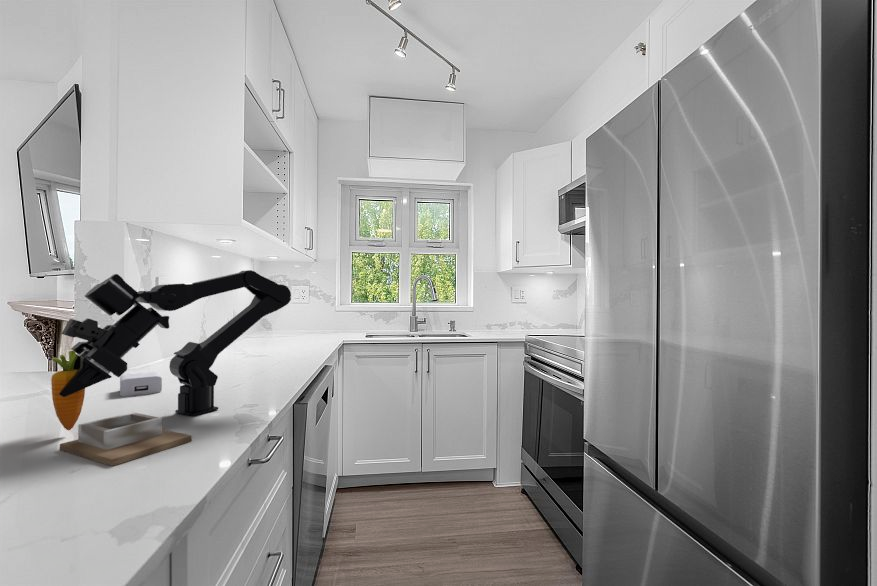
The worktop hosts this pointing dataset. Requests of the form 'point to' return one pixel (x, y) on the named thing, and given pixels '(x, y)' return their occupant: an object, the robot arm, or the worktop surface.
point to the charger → (140, 383)
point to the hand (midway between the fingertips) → (58, 393)
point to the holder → (123, 438)
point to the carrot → (70, 404)
